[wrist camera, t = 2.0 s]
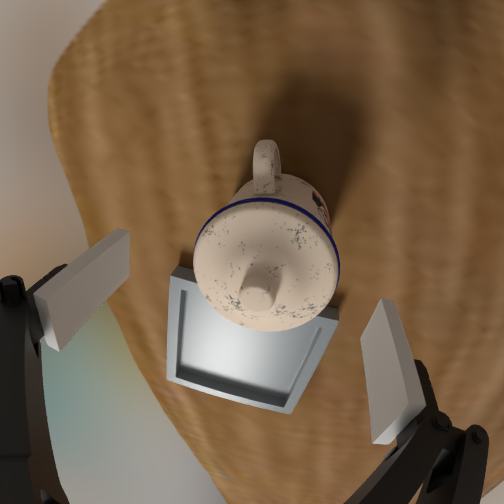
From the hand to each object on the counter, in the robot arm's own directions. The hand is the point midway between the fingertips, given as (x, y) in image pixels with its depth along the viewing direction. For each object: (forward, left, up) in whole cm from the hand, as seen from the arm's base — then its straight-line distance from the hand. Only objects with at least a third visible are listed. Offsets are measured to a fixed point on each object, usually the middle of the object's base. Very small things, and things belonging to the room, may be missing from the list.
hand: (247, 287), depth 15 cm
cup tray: (+16, 0, -12) cm, 20 cm away
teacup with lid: (0, 0, -12) cm, 12 cm away
